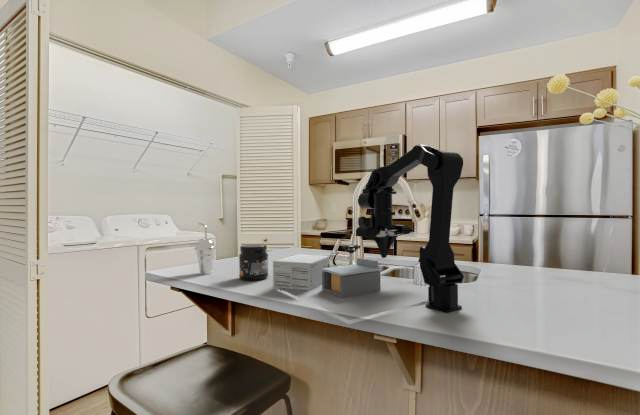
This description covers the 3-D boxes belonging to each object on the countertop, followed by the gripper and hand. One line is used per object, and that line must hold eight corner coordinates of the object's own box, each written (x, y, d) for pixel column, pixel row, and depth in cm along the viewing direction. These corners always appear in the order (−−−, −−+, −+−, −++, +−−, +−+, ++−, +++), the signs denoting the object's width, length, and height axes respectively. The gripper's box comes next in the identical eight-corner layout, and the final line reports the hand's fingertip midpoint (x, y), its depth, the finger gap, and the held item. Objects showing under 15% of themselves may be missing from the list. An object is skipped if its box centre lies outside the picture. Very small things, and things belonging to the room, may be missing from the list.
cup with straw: (194, 276, 127) (193, 223, 127) (194, 272, 136) (194, 222, 136) (217, 274, 130) (216, 223, 130) (216, 270, 139) (216, 222, 139)
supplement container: (239, 276, 127) (239, 244, 127) (268, 274, 129) (267, 243, 129) (238, 282, 117) (237, 247, 117) (268, 280, 119) (268, 246, 119)
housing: (380, 292, 101) (380, 271, 101) (342, 300, 93) (342, 277, 93) (359, 286, 109) (358, 266, 109) (322, 292, 101) (322, 271, 101)
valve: (360, 277, 123) (360, 244, 123) (360, 281, 117) (360, 246, 116) (342, 276, 124) (341, 244, 124) (341, 281, 117) (341, 246, 117)
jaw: (352, 292, 98) (352, 273, 98) (340, 294, 96) (340, 275, 96) (343, 289, 102) (343, 271, 102) (331, 291, 100) (331, 273, 100)
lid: (380, 270, 101) (380, 261, 101) (342, 276, 93) (341, 266, 93) (358, 265, 109) (358, 257, 109) (321, 270, 101) (321, 261, 101)
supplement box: (310, 294, 101) (310, 263, 101) (272, 290, 106) (272, 260, 106) (330, 281, 117) (330, 255, 117) (296, 279, 122) (296, 253, 122)
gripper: (385, 208, 119) (386, 252, 119) (344, 209, 108) (345, 257, 109) (410, 208, 110) (411, 256, 110) (367, 209, 99) (368, 262, 99)
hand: (383, 257), depth 107 cm, fingers closed
